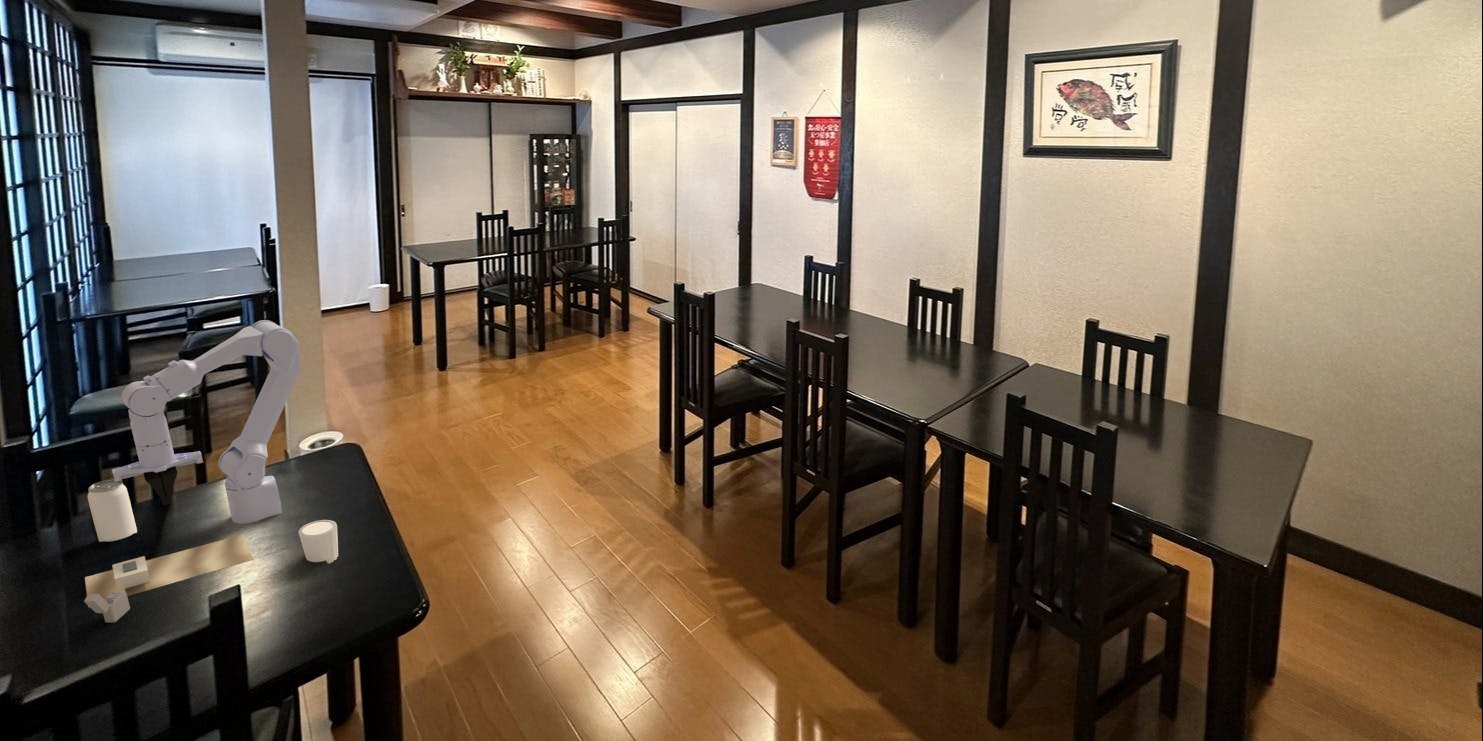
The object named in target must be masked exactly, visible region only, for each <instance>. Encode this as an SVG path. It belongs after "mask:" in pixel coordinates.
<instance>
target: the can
mask: <svg viewBox="0 0 1483 741" xmlns="http://www.w3.org/2000/svg"><path fill="white" fill-rule="evenodd" d="M87 489H88V490H87V491H88V493H87V500H88V504H89V508H90V512H91V513H90V514H91V517H92V520H93V524H94V528H95V531H96V535H97V539H98V541H99V543H101V542H114V541H118V540H123V539H125V538H128V537H130V536H132V535H133V534H137V533H138V528H137V526H136V525H137V524H136V521H135V516H134V513H133V508H132V504H131V499H130V496H129V492H128V488H127V487H126V485H124V483H123V480H121V481H116V482H115V480H114V479H107V480H102V481H98V482H95V483H93V484H92V485H90V486H89V487H88V488H87Z"/></svg>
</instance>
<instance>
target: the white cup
mask: <svg viewBox="0 0 1483 741" xmlns="http://www.w3.org/2000/svg"><path fill="white" fill-rule="evenodd" d="M298 536H299V539H300V542H301V545H302V549H303V552H304V556H305V559H306V561H309V562H311V563H312V562H313V563H320V562H326V563H327V564H328V565H329V564H332V563H334V562H335V561H336V560H337V559H338V558H337V557H339V541H338V525H337V523H336V521H334V520H330V519H321V520H315V521H311V522H308V523H306V524H304V525H303V526H301V527H300V528H299V530H298ZM334 560H335V561H334Z"/></svg>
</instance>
